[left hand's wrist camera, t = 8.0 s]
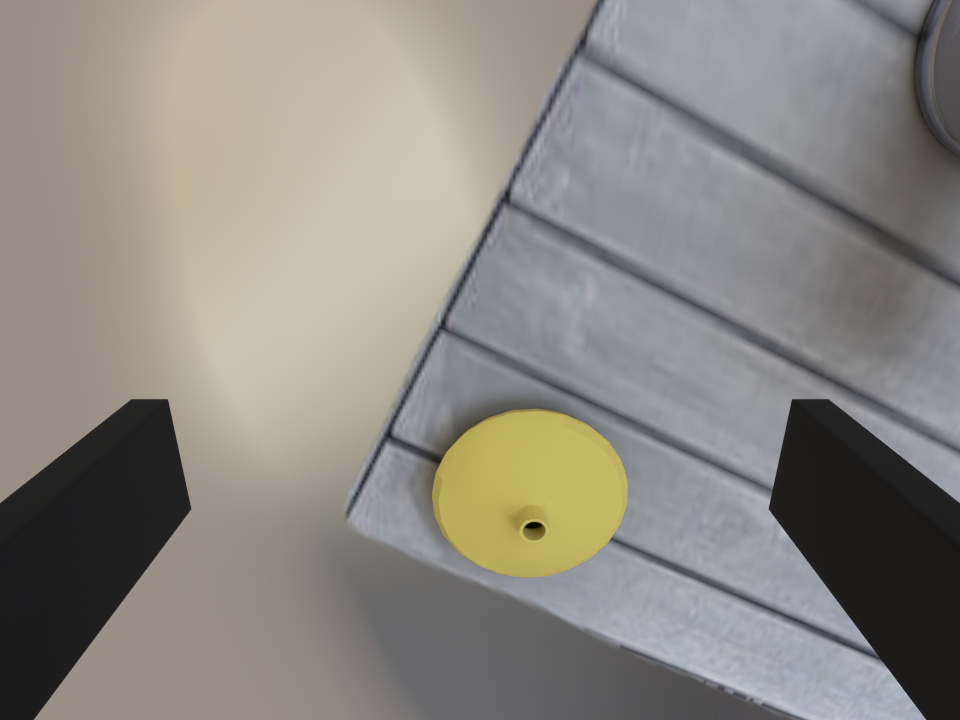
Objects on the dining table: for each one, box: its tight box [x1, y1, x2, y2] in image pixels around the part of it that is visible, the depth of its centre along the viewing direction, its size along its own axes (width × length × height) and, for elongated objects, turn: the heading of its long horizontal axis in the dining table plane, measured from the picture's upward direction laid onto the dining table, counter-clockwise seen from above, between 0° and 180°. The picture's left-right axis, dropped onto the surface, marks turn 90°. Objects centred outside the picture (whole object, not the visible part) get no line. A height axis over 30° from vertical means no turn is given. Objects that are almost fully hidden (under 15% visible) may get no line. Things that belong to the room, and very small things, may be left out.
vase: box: [432, 408, 628, 578], centre depth 47 cm, size 16×16×7 cm
